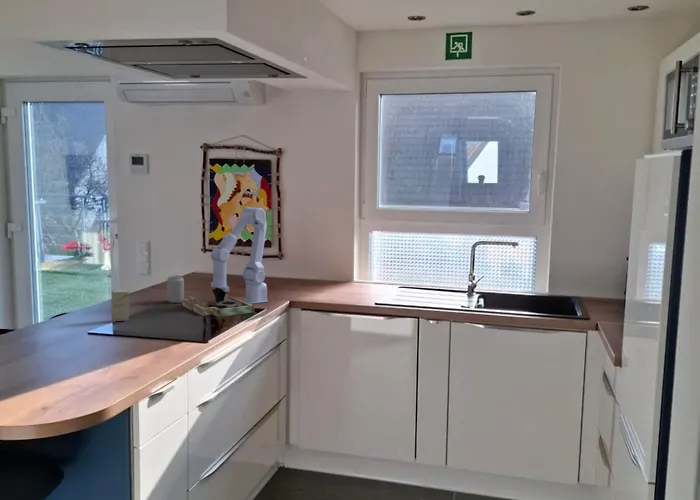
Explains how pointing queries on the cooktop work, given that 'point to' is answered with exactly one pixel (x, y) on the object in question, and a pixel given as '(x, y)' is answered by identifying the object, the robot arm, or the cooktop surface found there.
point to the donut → (227, 304)
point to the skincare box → (120, 305)
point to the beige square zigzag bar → (203, 310)
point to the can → (175, 289)
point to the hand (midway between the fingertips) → (219, 305)
